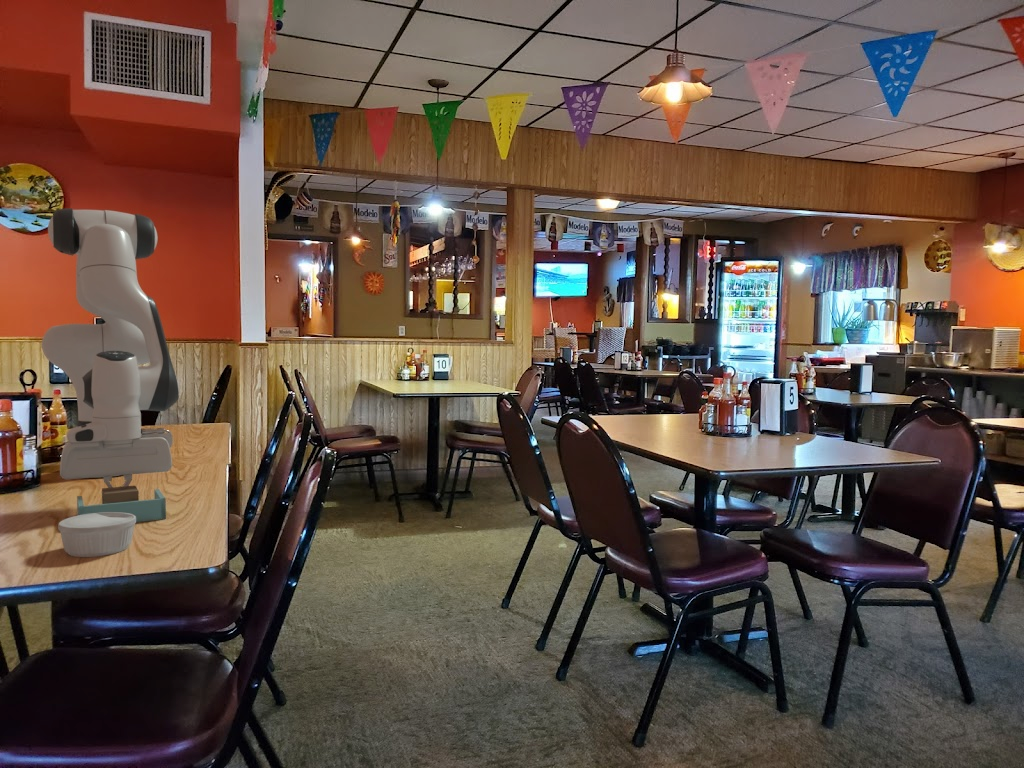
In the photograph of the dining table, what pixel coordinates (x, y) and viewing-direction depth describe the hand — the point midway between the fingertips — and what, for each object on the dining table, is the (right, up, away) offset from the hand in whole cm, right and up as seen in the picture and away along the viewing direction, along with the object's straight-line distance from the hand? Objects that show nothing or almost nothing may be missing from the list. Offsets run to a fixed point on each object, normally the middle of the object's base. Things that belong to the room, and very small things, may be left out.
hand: (118, 496), depth 147 cm
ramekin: (+12, -5, -27) cm, 30 cm away
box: (+4, -3, -6) cm, 8 cm away
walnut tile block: (+2, -3, -3) cm, 5 cm away
